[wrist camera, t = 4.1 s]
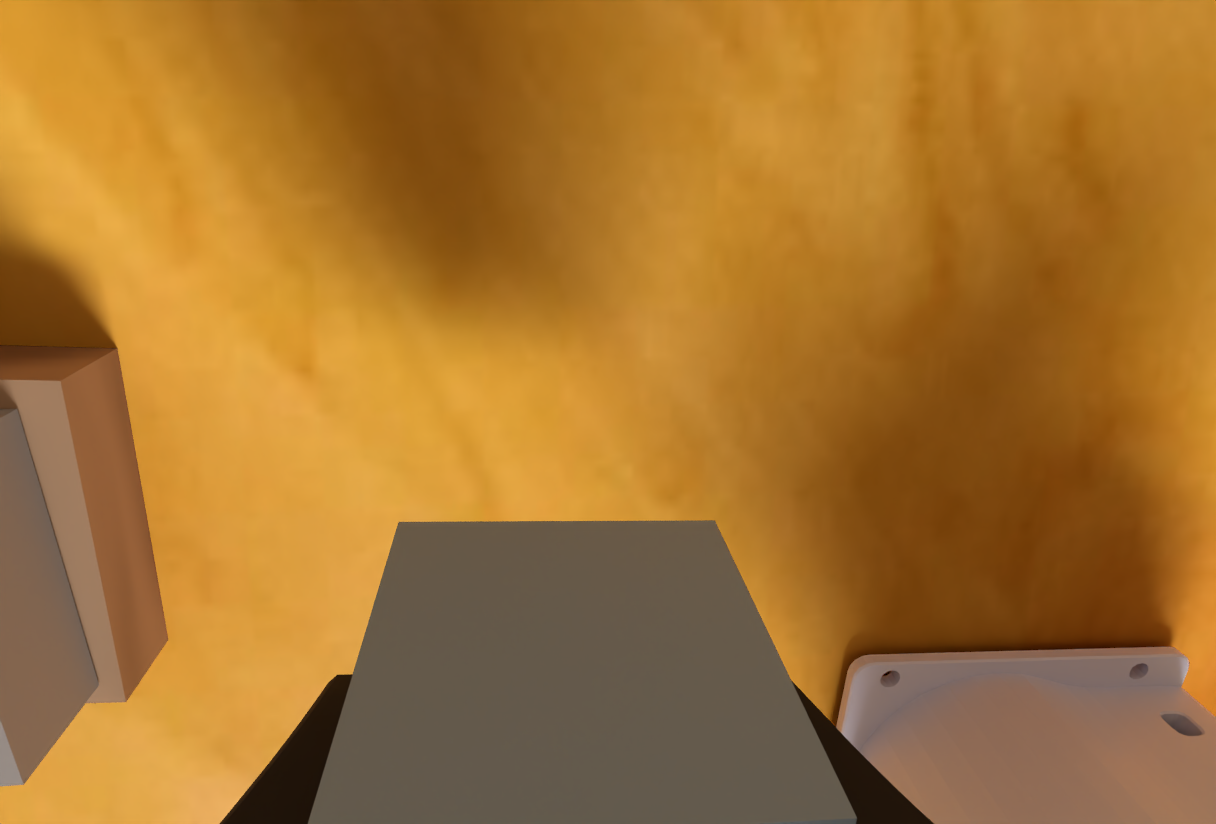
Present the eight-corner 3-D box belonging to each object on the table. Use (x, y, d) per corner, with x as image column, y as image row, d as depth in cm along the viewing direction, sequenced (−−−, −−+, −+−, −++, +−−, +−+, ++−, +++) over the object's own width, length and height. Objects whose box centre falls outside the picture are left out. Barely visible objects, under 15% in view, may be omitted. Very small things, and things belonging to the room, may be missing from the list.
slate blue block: (714, 520, 11) (856, 817, 6) (687, 759, 12) (785, 1138, 8) (398, 522, 10) (300, 847, 6) (410, 770, 12) (341, 1183, 7)
